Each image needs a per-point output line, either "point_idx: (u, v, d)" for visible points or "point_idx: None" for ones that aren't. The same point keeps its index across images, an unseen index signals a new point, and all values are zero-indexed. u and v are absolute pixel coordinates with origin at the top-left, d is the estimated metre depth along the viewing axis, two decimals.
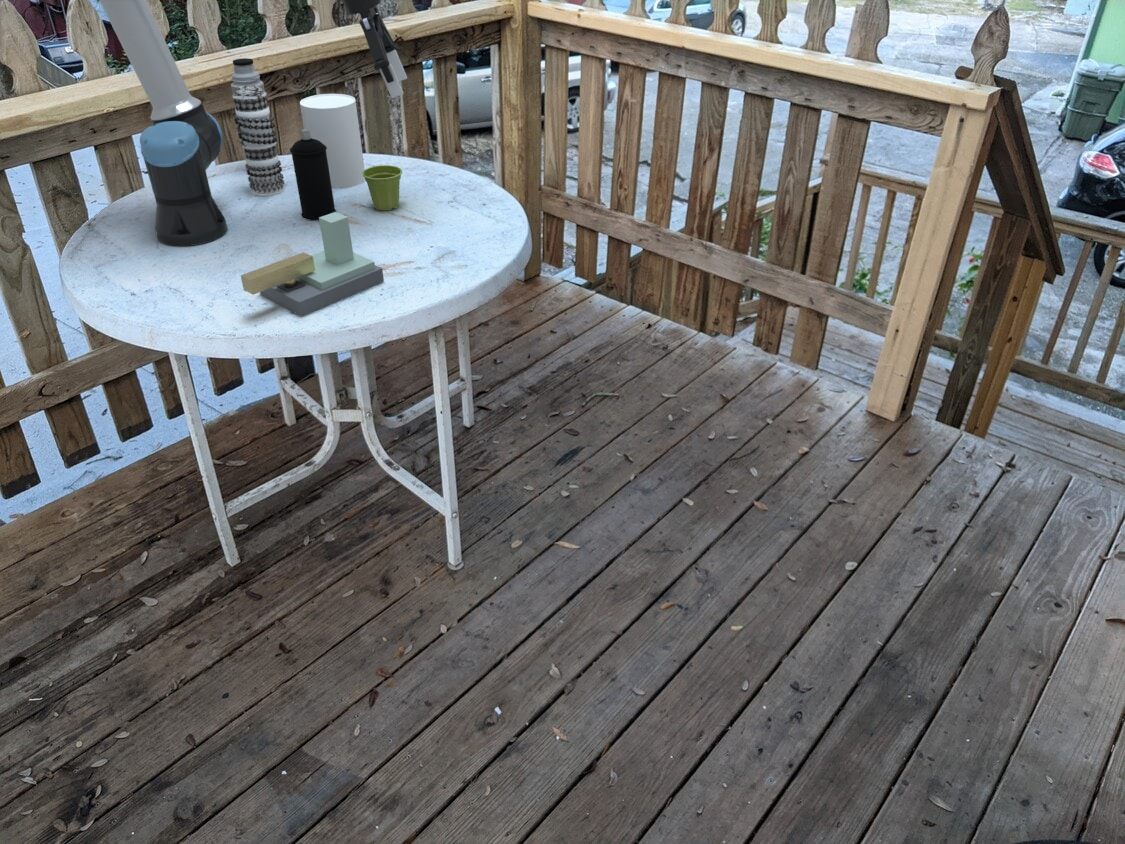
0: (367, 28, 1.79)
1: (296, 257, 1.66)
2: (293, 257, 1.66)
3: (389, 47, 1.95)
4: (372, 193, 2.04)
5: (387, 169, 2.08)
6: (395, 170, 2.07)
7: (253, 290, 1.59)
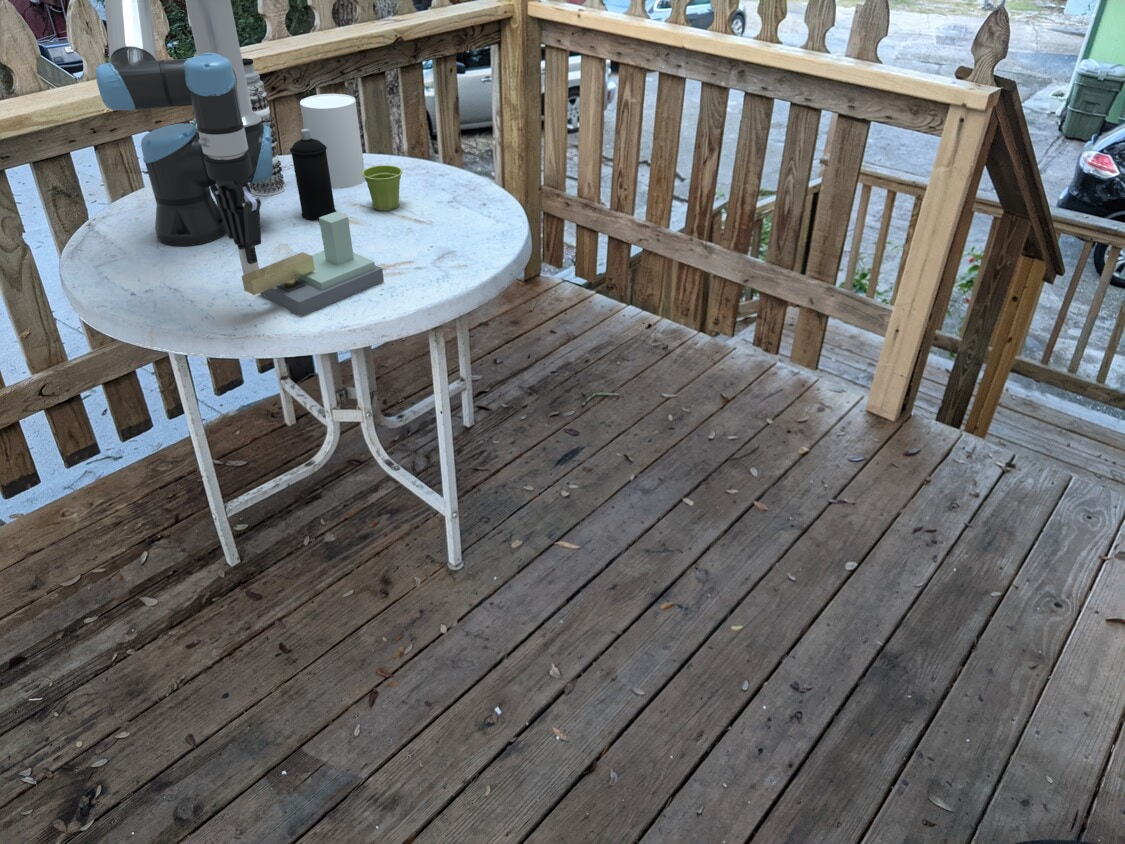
0: None
1: (295, 257, 1.66)
2: (293, 257, 1.66)
3: None
4: (372, 193, 2.04)
5: (387, 170, 2.08)
6: (395, 170, 2.07)
7: (254, 290, 1.59)
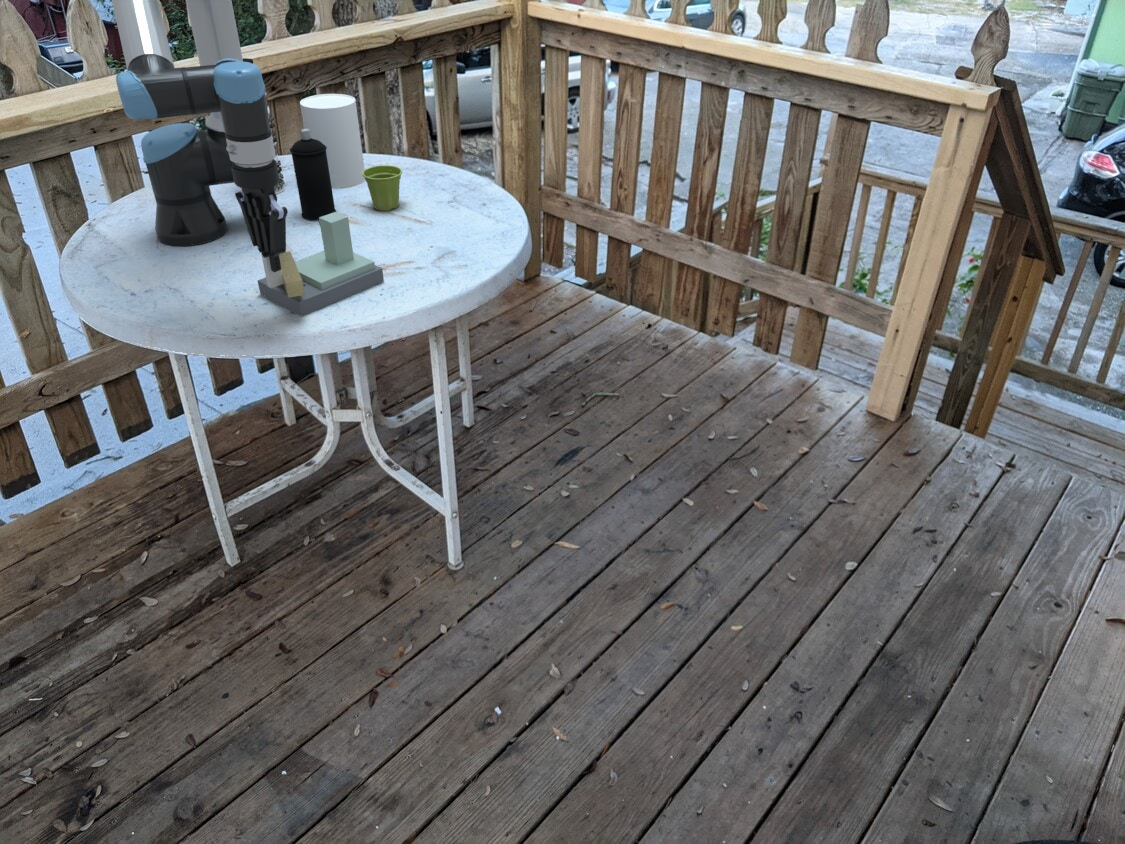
0: None
1: (281, 257, 1.66)
2: None
3: None
4: (372, 193, 2.04)
5: (387, 170, 2.08)
6: (395, 170, 2.07)
7: (303, 290, 1.59)
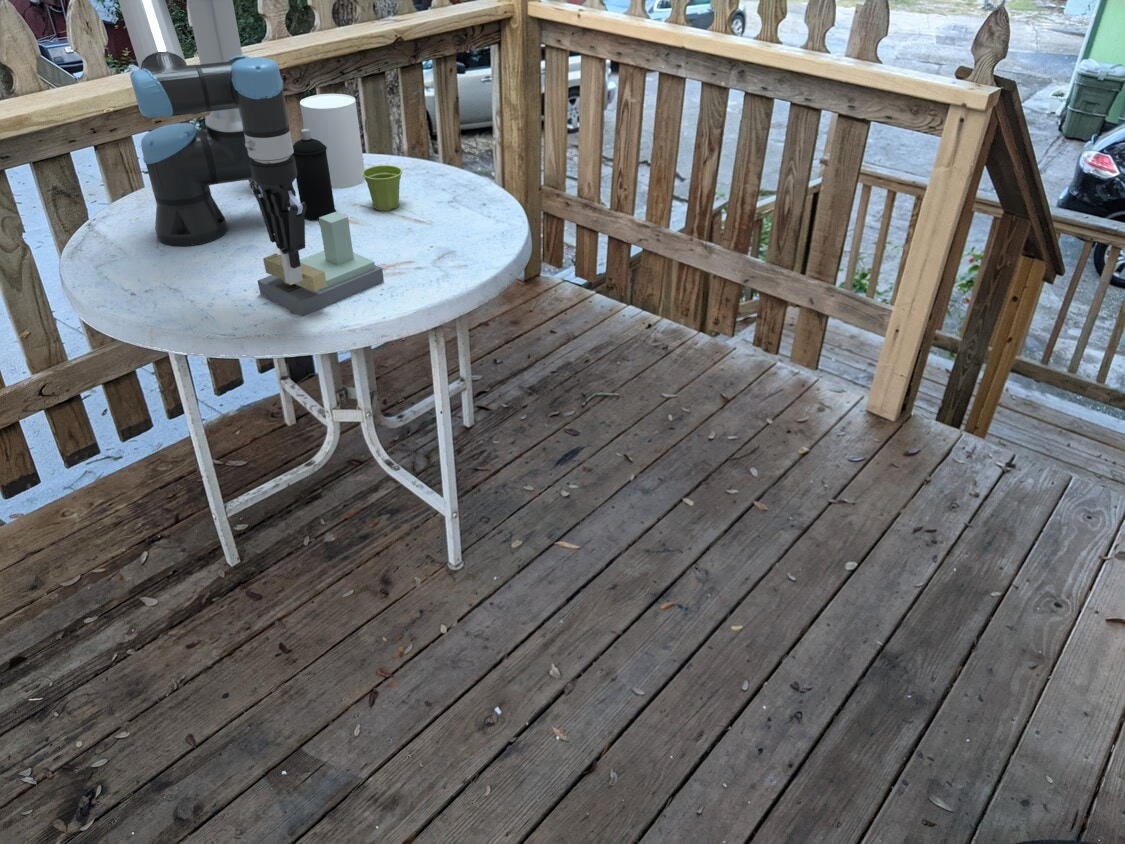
0: None
1: (274, 260, 1.65)
2: (275, 261, 1.64)
3: None
4: (372, 193, 2.04)
5: (387, 169, 2.08)
6: (395, 170, 2.07)
7: None
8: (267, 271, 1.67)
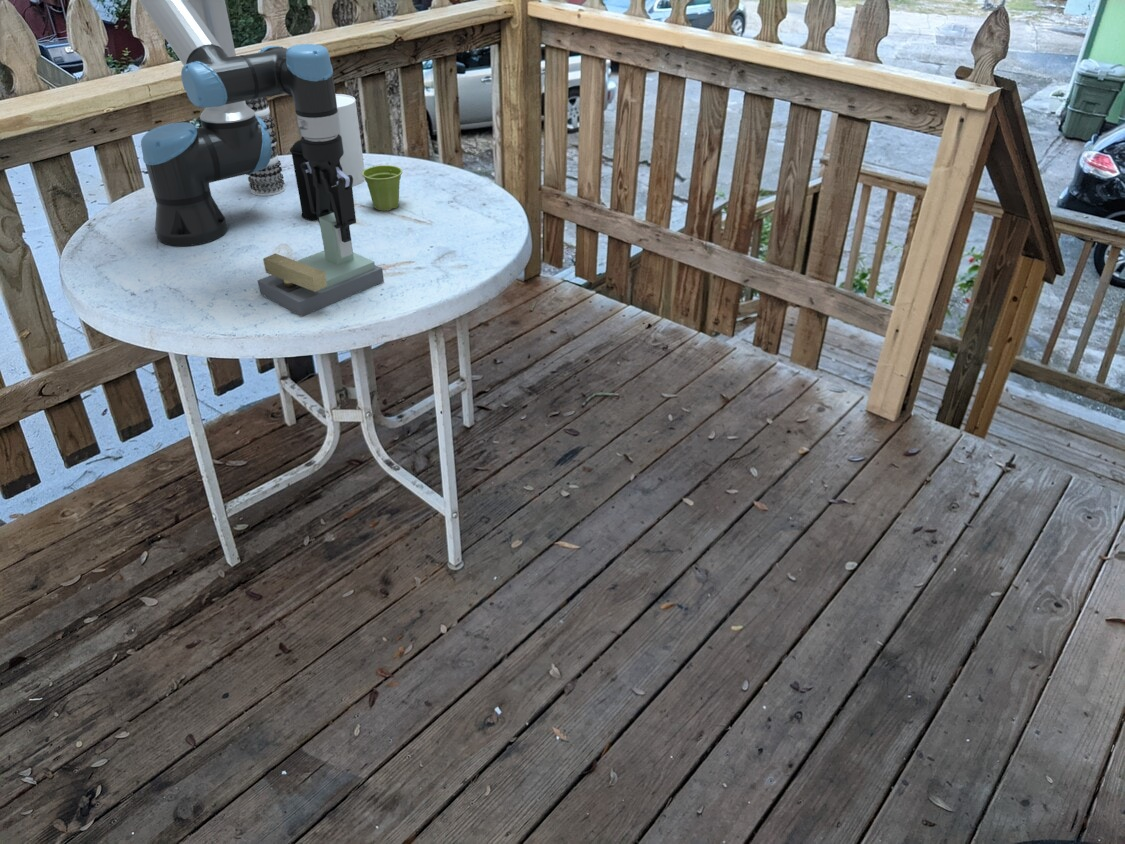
0: None
1: (274, 260, 1.65)
2: (275, 261, 1.64)
3: None
4: (372, 193, 2.04)
5: (387, 169, 2.08)
6: (395, 170, 2.07)
7: None
8: (267, 271, 1.67)
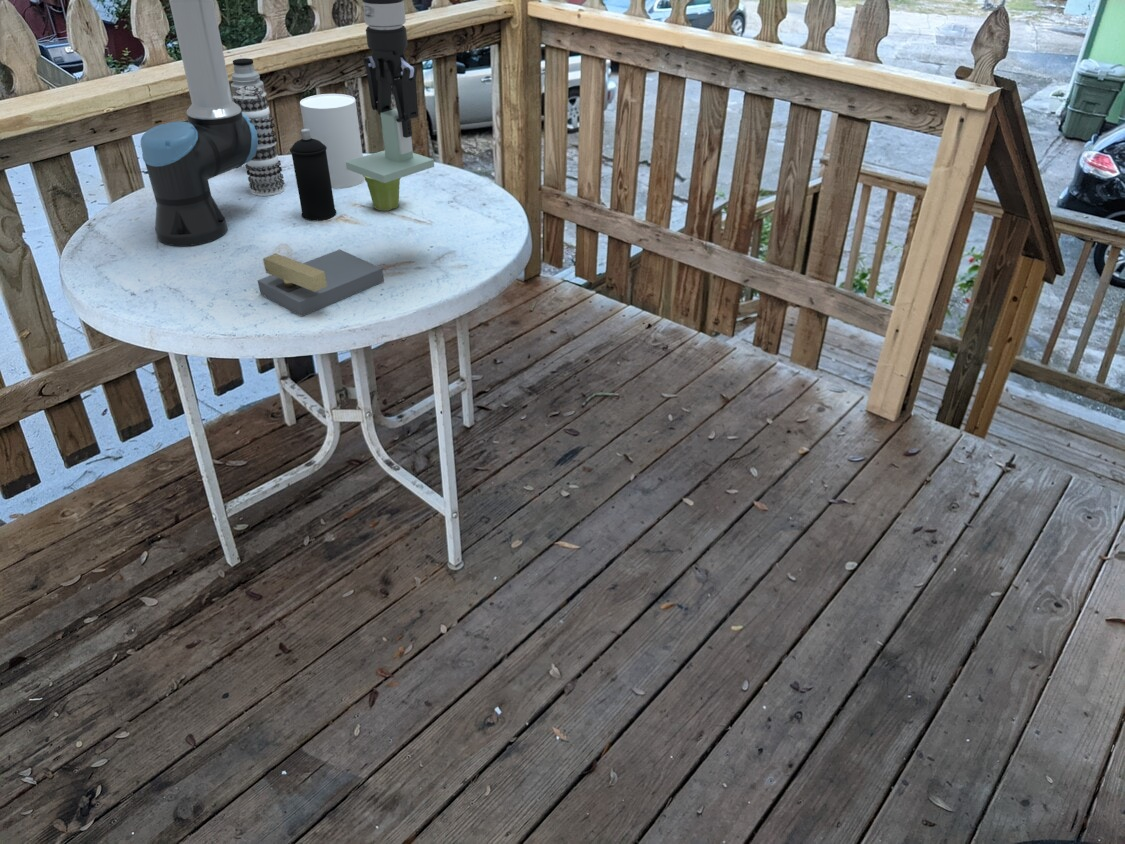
0: None
1: (274, 260, 1.65)
2: (275, 261, 1.64)
3: None
4: (372, 193, 2.04)
5: None
6: None
7: None
8: (267, 271, 1.67)
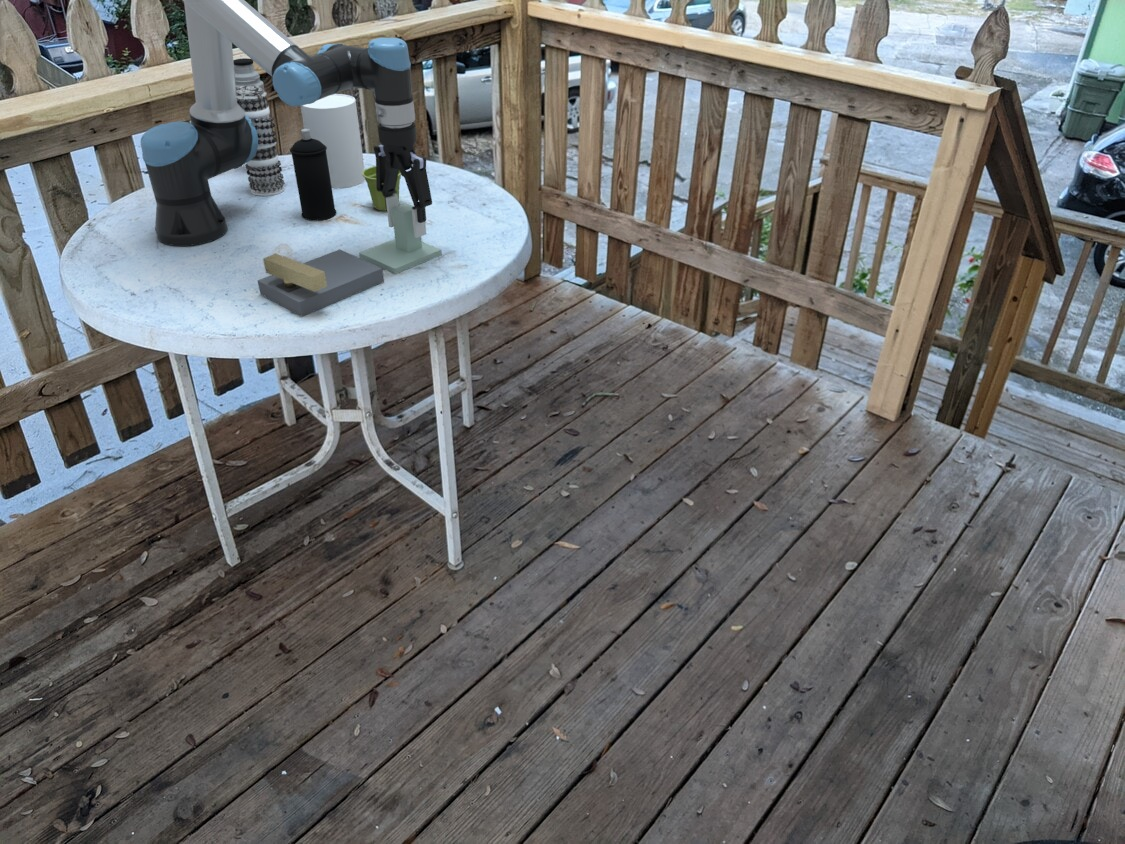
0: None
1: (274, 260, 1.65)
2: (275, 261, 1.64)
3: None
4: (372, 193, 2.04)
5: None
6: None
7: None
8: (267, 271, 1.67)
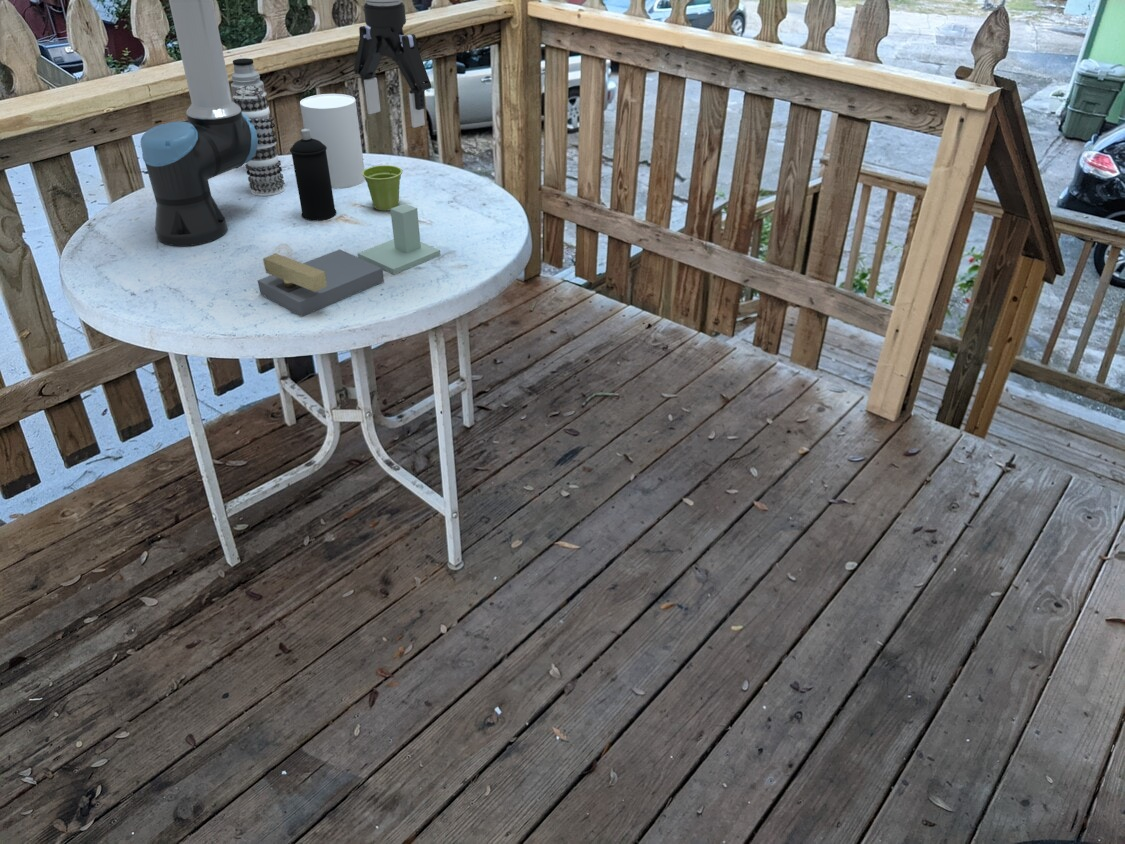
0: None
1: (274, 260, 1.65)
2: (275, 261, 1.64)
3: None
4: (372, 193, 2.04)
5: (387, 169, 2.08)
6: (395, 170, 2.07)
7: None
8: (267, 271, 1.67)
